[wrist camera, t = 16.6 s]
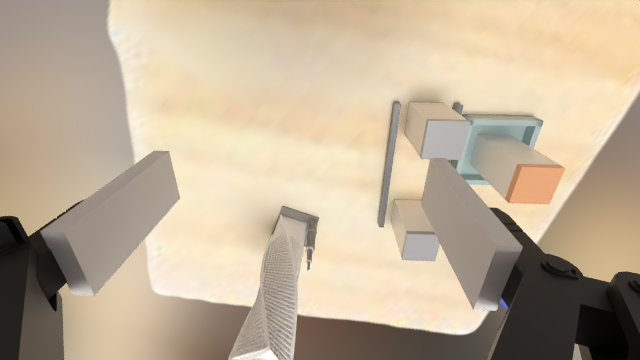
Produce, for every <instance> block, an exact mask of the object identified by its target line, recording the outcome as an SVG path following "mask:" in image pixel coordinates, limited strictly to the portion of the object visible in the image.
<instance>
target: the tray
mask: <svg viewBox="0 0 640 360" xmlns="http://www.w3.org/2000/svg"><path fill="white" fill-rule="evenodd" d="M462 116H463V117H464V118H466V119H467V120H469V121H470V126H469V130H468V134H467V138H466V142H465V145H464V149H463V153H462V157H461V160H451V163H450V164H451V165H452V166H453V167H454V168H455V169H456V171H457V172H458V173H459V174H460V175H461V176H462V177H463V179H464V180H465V181H466V182H467V183H468V184H471V185H490V184H489V183H488V182H487V181H486V180H485V179H484V178H483V177H482V176H481V175H480V174H479V173H478V172H477V171H476V170H475V169H474V168H473V167H472V166H471V165H470V160H471V157H472V153H473V149H474V145H475V142H476V138H477V134H490V135H511V136H513V137H515V138H516V139H518V140H519V141H521V142H523V143H524V144H526V145H528V146H529V147H531V148H534V145H535V143H536V140H537V137H538V135H539V132H540V129H541V126H542V124H543V121H542V120H540V119H538V118H536V117H533V116H499V115H462Z"/></svg>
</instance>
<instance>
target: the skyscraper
mask: <svg viewBox="0 0 640 360" xmlns="http://www.w3.org/2000/svg"><path fill="white" fill-rule="evenodd" d="M318 220H319V218H318V217H315V216H312V215H309V214H306V213H303V212H300V211H297V210H294V209H291V208H288V207H285V206H283V207H282V210H281V212H280V215H279V218H278V220H277V223H276V226H275V228H274V231H273V233H272V235H271V237H270V240H269V242H268V244H267V247H266V249H265V252H264V256H263V260H262V266H261V274H260V288H259V292H258V295H257V298H256V301H255V303H254V305H253V307H252V309H251V310H250V312H249V314H248V316H247V318H246V320H245V322H244V324H243V326H242V329H241V331H240V333H239V335H238V337H237V340H236V342H235V344H234V346H233V349H232V351H231V354H230V356H229V358H228V360H293V356H294V346H295V336H296V322H297V281H298V277H299V271H300V266H301V260H302V254H303V247H304V246H305V247H306V246H307V247H306V250H305V251H306V252H307V261H306V262H307V263H308V267H307V271H309V267H310V264H311V262H312V253H314V251H315V245H314V244H315V237H316V234H317V230H316V228H317V222H318ZM292 329H293V330H292Z"/></svg>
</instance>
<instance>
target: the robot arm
mask: <svg viewBox="0 0 640 360" xmlns="http://www.w3.org/2000/svg"><path fill="white" fill-rule="evenodd" d="M179 199H180V196H179V192H178V188H177V183H176V179H175V175H174V171H173V166H172V162H171V158H170V154H169V151H153V152H152V153H150V154H149V155H147V156H146V157H145V158H143V159H142V160H140V161H139V162H138V163H136V164H135V165H133V166H132V167H131V168H129V169H128V170H126V171H125V172H123V173H122V174H121V175H119V176H118V177H116V178H115V179H114V180H112V181H111V182H109V183H108V184H107V185H105V186H104V187H102V188H101V189H99V190H98V191H97V192H95V193H94V194H93V195H91V196H90V197H88V198H87V199H85V200H82V201H80V202H78V203H76V204H75V205H73V206H72V207H70V208H69V209H68V210H66V212H63V213H62V214H60V215H59V216H58V217H57V218H56V219H53V220H52V221H50V222H49V223H48V224H46V225H45V226H43V227H42V228H40V229H39V230H38V231H36V232H35V233H33V234H32V235H30V236H29V237H28V236H27V234H26V232H25V231H24V228H23V227H22V225H21V223H20V221H19V219H18V218H17V217H14V216H3V217H0V360H64V346H63V314H62V298H61V296H60V294H59V292H58V290H59V289H60V288H61V287H62V286H63V285H64V284H65V283H67V284H68V286H69V288H70V290H71V292H72V294H73V295H89V296H95V294H96V293H97V292H98V291H99V290H100V289H101V288H102V287H103V286H104V284H105V283H106V282H107V281H108V280H109V279H110V278H111V276H112V275H113V274H114V273H115V272H116V271H117V270H118V268H119V267H120V266H121V265H122V264H123V263H124V261H125V260H126V259H127V258H128V257H129V256H130V254H131V253H132V252H133V251H134V250H135V249H136V248H137V247H138V246H139V244H140V243H141V242H142V241H143V240H144V239H145V238H146V236H147V235H148V234H149V233H150V232H151V231H152V230H153V228H154V227H155V226H156V225H157V224H158V223H159V222H160V220H161V219H162V218H163V217H164V216H165V215H166V214H167V212H168V211H169V210H170V209H171V208H172V207H173V206H174V204H175V203H176V202H177V201H178V200H179ZM421 206H422V208H423V210H424V212H425V214H426V216H427V218H428V220H429V222H430V224H431V226H432V228H433V230H434V232H435V234H436V236H437V238H438V240H439V242H440V244H441V246H442V248H443V250H444V252H445V254H446V256H447V258H448V260H449V262H450V264H451V266H452V268H453V270H454V272H455V274H456V276H457V278H458V280H459V282H460V284H461V286H462V288H463V290H464V292H465V294H466V296H467V298H468V300H469V302H470V304H471V306H472V308H473V310H497V307H498V305H499V303H500V300H501V298H502V299H503V301H504V302H505V304H506V305H507V307H508V310H507V312H506V314H505V316H504V319H503V321H502V323H501V325H500V327H499V331H498V334H497V336H496V339H495V341H494V344H493V346H492V348H491V351H490V353H489V356H488V359H487V360H572V358H573V351H574V344H575V343H576V344H578V345H579V349H580V353H581V357H582V360H640V274H637V273H631V272H618V273H617V274H616V275H615V276H614V277H613V279H612V280H611V282H610V283H609V282H605V281H601V280H597V279H593V278H588V277H584V276H583V274H582V273H581V272H580V271H579V269H578V268H577V267H575V266H574V265H573V264H571V263H570V262H568V261H566V260H564V259H562V258H560V257H557V256H554V255H550V254H545V253H543V251H542V250H541V249H540V248H539V247H538V246H537V245H536V244H535V243H534V242H533V241H532V240H531V239H530V237H529V236H528V235H527V234H526V233H525V232H523V230H522V229H521V228H520V227H519V226H518V225H516V223H515V221H514V220H513V219H512V218H511V217H510V216H509V215H507V214H506V213H504V212H503V211H501V210H499V209H498V208H489V207H488V206H487V205H486V204H485V203H484V202H483V200H482V199H481V198H480V197H479V196H478V195H477V194H476V192H475V191H474V190H473V189H472V188H471V187H470V186H469V184H468V183H467V182H466V181H465V180H464V179H463V177H462V176H461V175H460V174H459V173H458V172H457V171H456V169H455V168H454V167H453V166H452V165H451V164H450V162H449V161H448V160H447V159H446V158H430V163H429V168H428V173H427V178H426V182H425V187H424V192H423V197H422V202H421Z"/></svg>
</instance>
